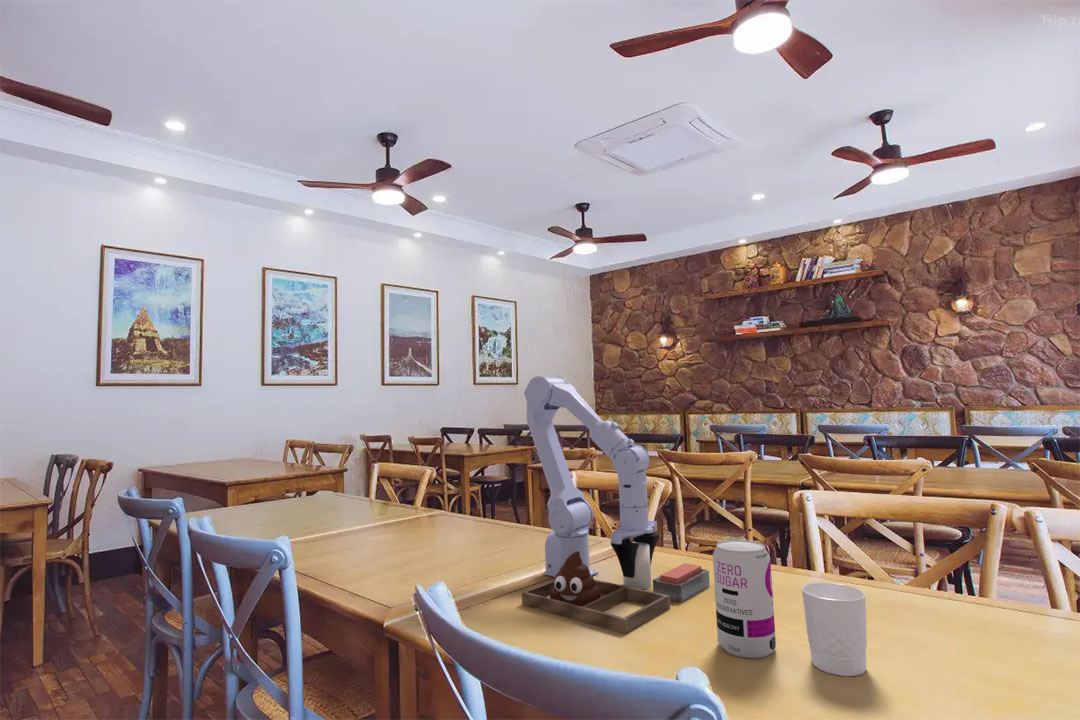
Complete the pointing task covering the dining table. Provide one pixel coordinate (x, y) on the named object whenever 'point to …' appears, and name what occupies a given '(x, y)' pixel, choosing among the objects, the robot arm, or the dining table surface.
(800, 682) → the dining table surface
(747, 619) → the supplement can
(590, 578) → the poop emoji
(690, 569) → the bar
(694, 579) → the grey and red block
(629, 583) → the wax pillar
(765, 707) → the dining table surface
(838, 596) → the white cup
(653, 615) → the divided tray
